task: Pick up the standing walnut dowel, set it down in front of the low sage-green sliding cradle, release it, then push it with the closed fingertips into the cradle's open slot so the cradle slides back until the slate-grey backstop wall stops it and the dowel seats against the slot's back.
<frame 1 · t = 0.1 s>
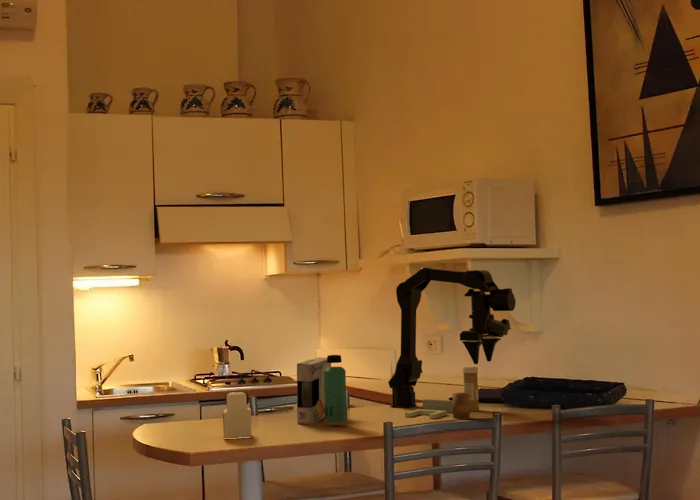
hand: (482, 362, 292), 15 cm above the table, fingers open, 9 cm apart
dowel: (461, 417, 280), on the table
beverage bottle: (336, 427, 270), on the table
sprinkles bottle: (471, 411, 294), on the table
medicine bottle: (237, 438, 256), on the table
backstop wall: (439, 411, 293), on the table
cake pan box: (314, 420, 283), on the table
cradle: (426, 413, 285), point 1 cm above the table, slide at 0.0 cm
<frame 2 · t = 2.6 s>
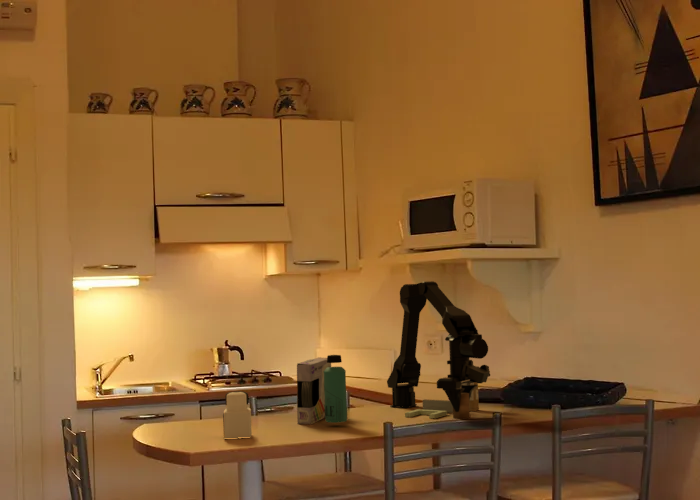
hand: (461, 410, 280), 2 cm above the table, fingers closed on dowel, 5 cm apart
dowel: (461, 417, 280), on the table, touching gripper
everything else where it was.
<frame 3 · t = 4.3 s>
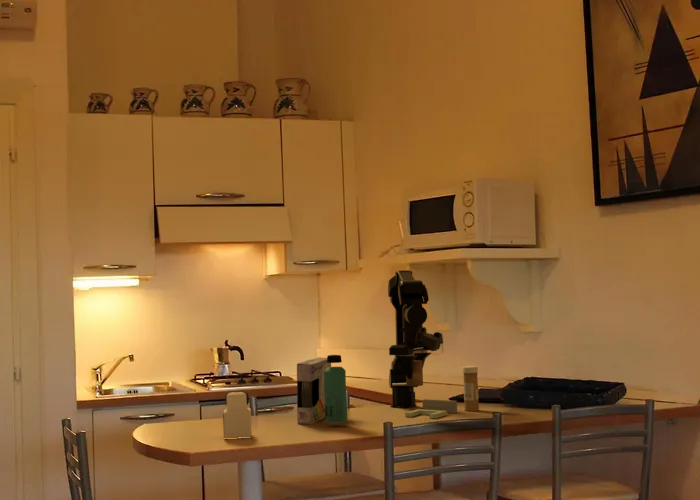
hand: (414, 378, 279), 12 cm above the table, fingers closed on dowel, 5 cm apart
dowel: (414, 385, 279), point 10 cm above the table, touching gripper
everything else where it was.
when the fingers open (3 cm above the table, at t = 6.1 s): dowel stays where it is, on the table.
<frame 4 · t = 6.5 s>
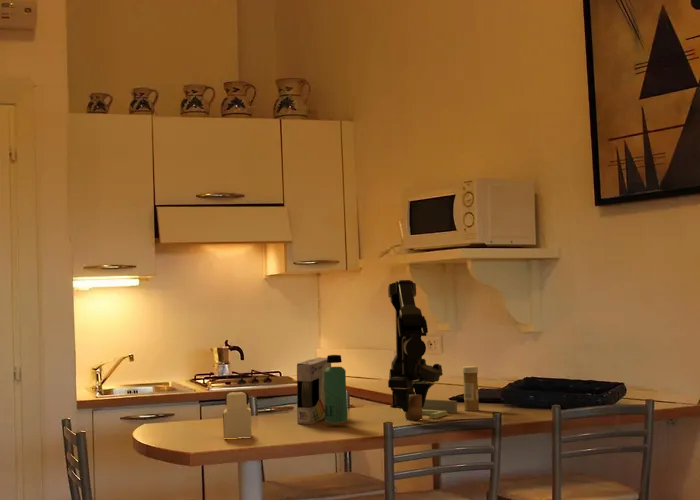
hand: (413, 409, 279), 3 cm above the table, fingers open, 9 cm apart
dowel: (414, 419, 278), on the table
everything else where it was.
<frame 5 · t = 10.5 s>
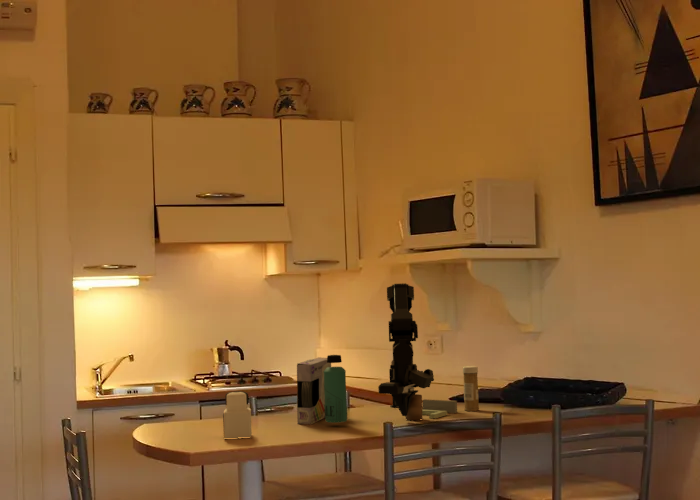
hand: (404, 415, 274), 2 cm above the table, fingers closed
dowel: (414, 419, 278), on the table, touching gripper
everything else where it was.
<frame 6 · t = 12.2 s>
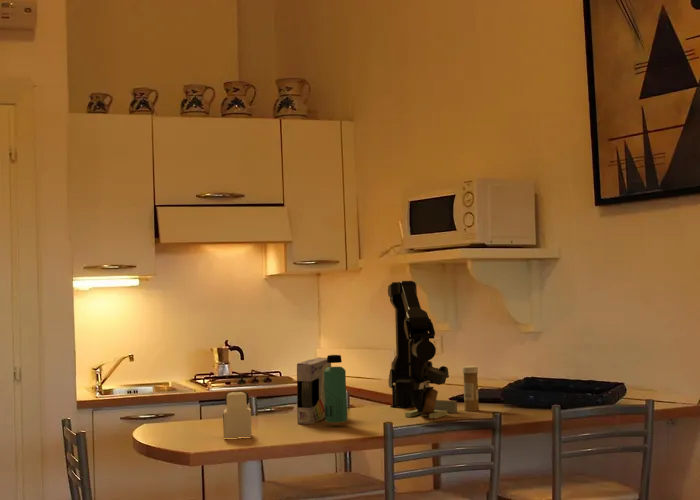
hand: (420, 411, 282), 2 cm above the table, fingers closed
dowel: (425, 412, 284), point 1 cm above the table, tilted 27°, touching cradle, gripper
cradle: (426, 413, 285), point 1 cm above the table, slide at 0.1 cm, touching dowel
everything else where it was.
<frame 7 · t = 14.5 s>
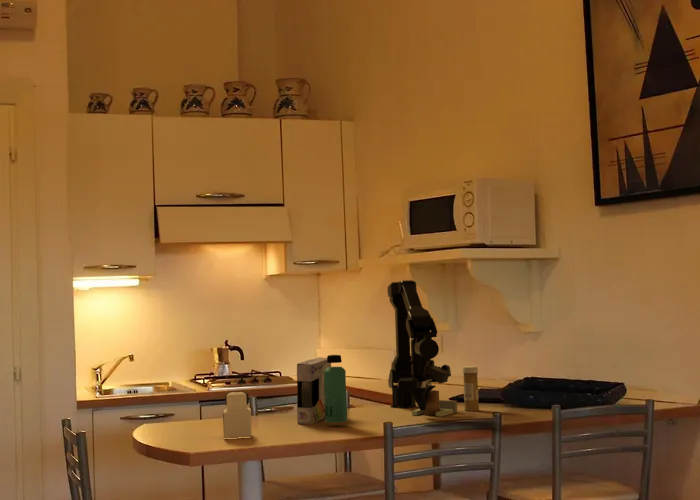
hand: (422, 410, 282), 2 cm above the table, fingers closed
dowel: (431, 414, 287), on the table
cradle: (432, 412, 288), point 1 cm above the table, slide at 4.2 cm
everything else where it was.
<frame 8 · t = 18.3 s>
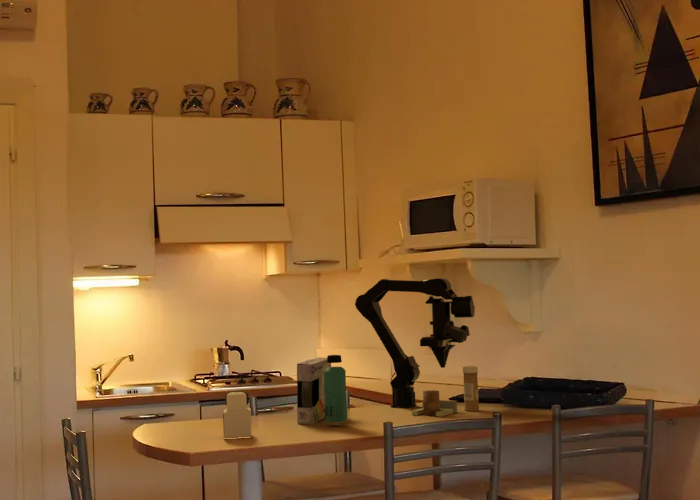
hand: (442, 367, 303), 12 cm above the table, fingers closed
nothing on the table moved.
at the end: cradle slide at 4.2 cm; dowel 0.2 cm from the target spot on the cradle, point 0.0 cm above the cradle's base; dowel tilted 0° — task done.
